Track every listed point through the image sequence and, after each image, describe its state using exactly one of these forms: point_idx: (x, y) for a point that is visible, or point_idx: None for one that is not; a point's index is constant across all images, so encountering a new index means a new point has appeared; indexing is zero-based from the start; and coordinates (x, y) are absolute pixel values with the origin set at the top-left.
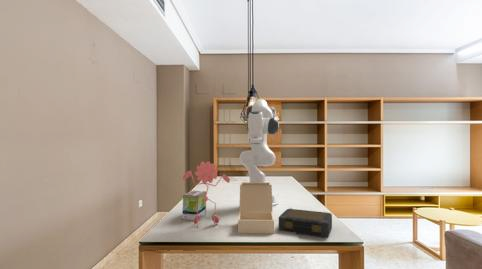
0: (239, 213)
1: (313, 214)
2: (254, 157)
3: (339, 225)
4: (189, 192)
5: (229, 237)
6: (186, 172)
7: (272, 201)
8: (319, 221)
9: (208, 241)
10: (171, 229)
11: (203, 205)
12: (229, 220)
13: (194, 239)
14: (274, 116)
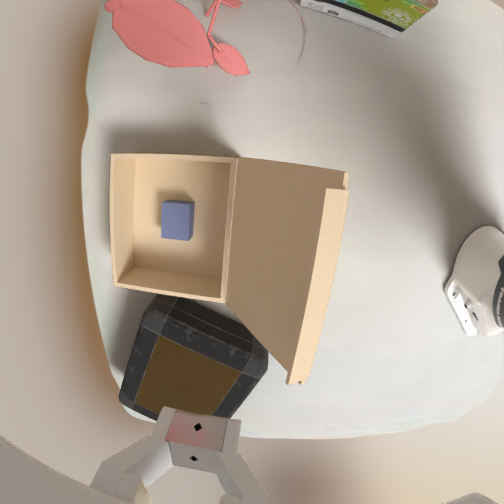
0: (202, 156)
1: (187, 407)
2: (100, 477)
3: None
4: None
5: (108, 128)
6: None
7: (475, 323)
8: (122, 393)
9: (87, 77)
10: None
11: (372, 9)
12: (297, 119)
13: (105, 37)
14: None
